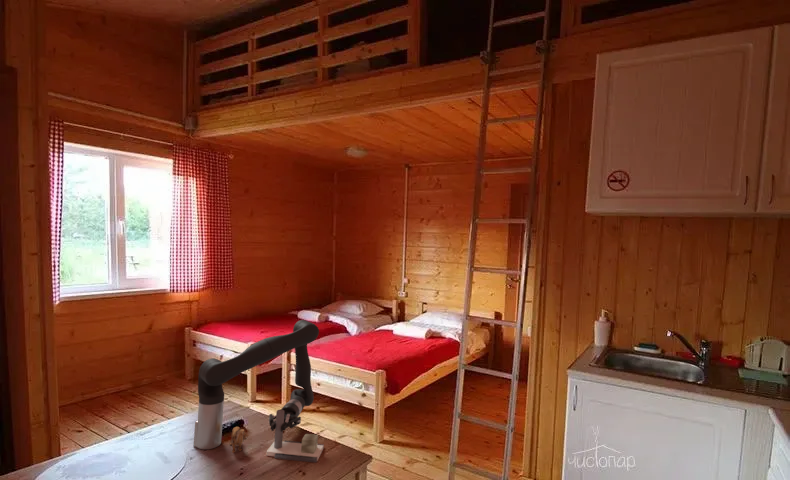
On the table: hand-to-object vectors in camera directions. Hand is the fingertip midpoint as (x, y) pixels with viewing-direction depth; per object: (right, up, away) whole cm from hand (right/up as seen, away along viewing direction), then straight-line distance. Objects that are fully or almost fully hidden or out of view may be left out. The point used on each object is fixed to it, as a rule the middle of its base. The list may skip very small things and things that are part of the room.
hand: (277, 428), depth 161 cm
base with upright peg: (+6, -10, +2) cm, 12 cm away
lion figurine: (-17, -9, +4) cm, 19 cm away
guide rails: (+8, -11, +2) cm, 14 cm away
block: (+12, -9, +2) cm, 15 cm away
